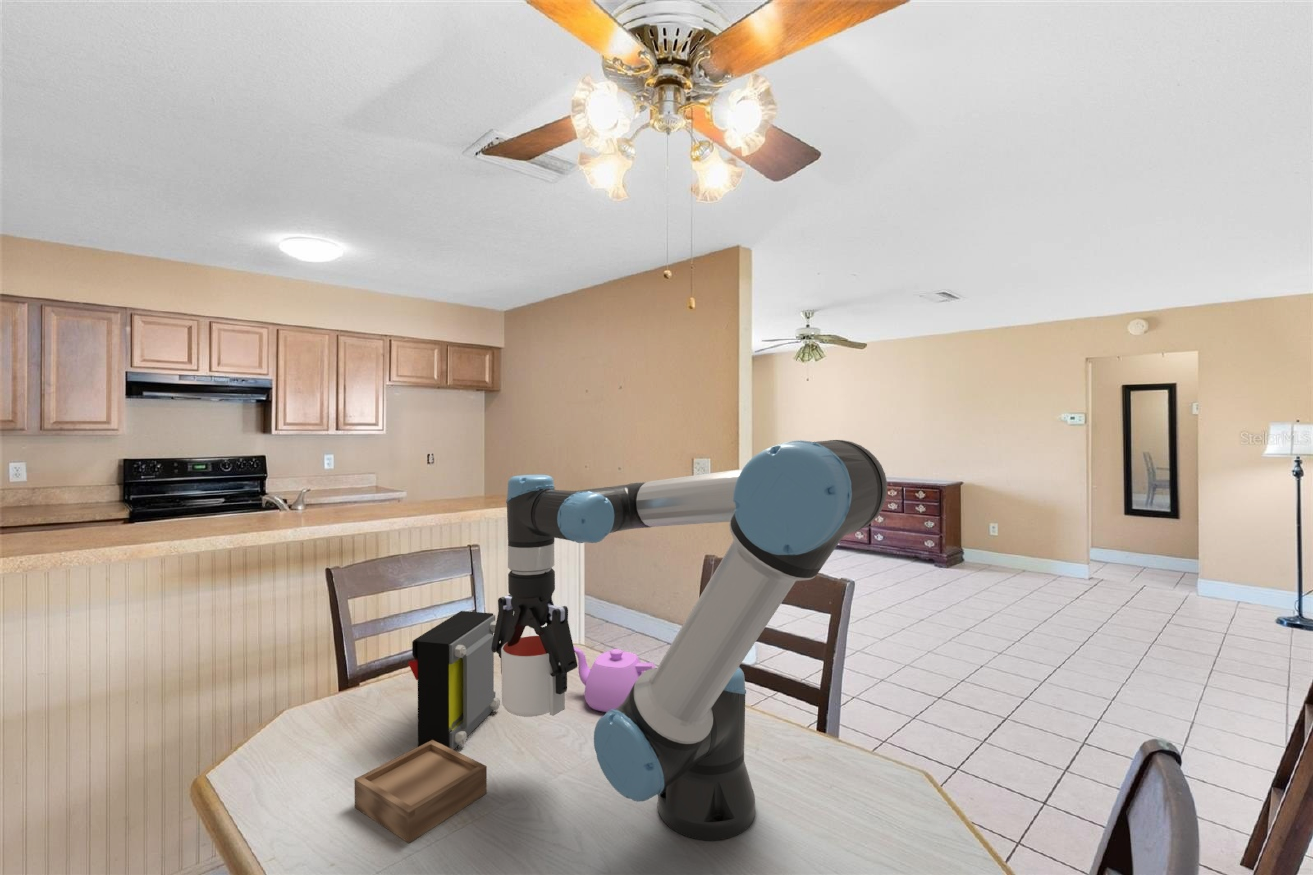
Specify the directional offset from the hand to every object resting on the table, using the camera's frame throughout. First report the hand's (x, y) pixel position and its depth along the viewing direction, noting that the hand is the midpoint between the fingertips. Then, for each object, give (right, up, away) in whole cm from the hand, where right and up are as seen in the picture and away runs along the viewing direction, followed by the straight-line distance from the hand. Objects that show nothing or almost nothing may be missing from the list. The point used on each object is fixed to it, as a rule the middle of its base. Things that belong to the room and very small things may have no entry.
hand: (533, 703), depth 100 cm
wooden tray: (-17, -14, -4) cm, 22 cm away
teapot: (+11, -13, +30) cm, 35 cm away
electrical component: (-18, -13, +19) cm, 29 cm away
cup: (0, -1, 0) cm, 1 cm away
